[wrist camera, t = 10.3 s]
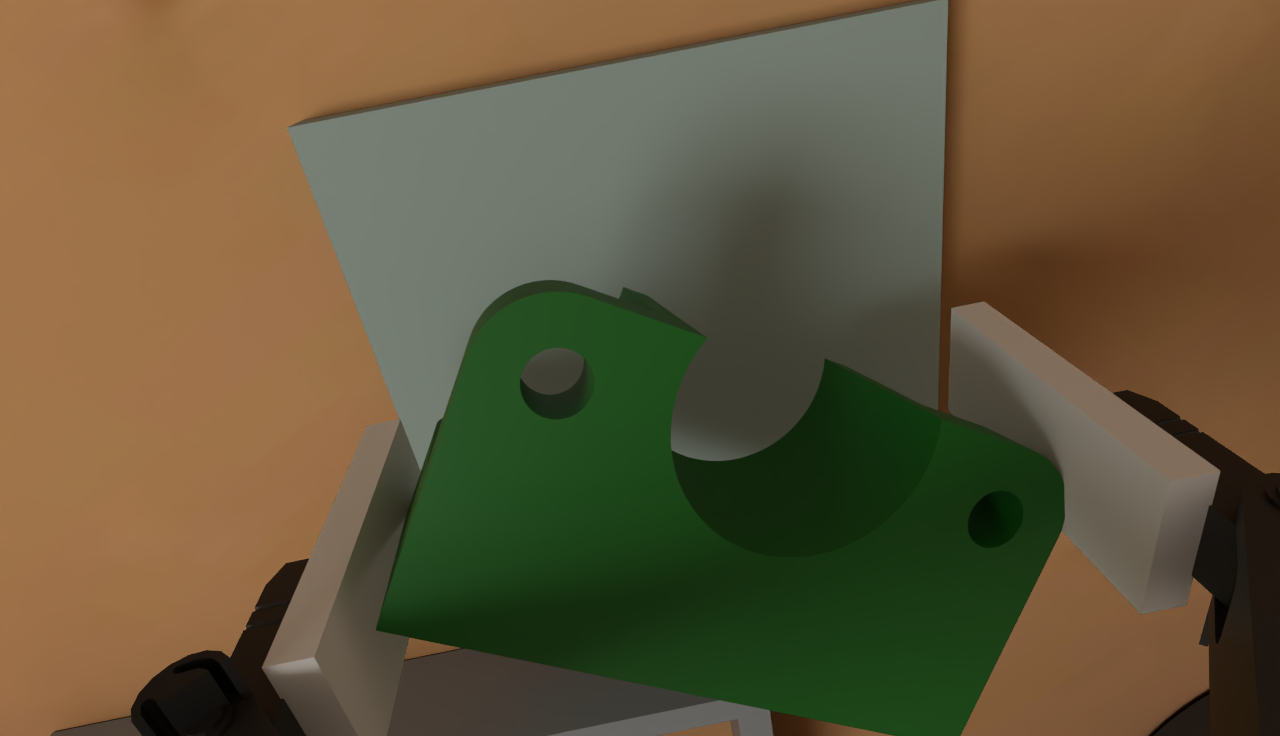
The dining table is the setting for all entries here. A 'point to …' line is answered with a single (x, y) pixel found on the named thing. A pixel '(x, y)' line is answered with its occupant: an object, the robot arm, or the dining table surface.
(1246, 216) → the dining table surface
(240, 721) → the robot arm
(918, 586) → the clamp
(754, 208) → the mat
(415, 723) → the case
